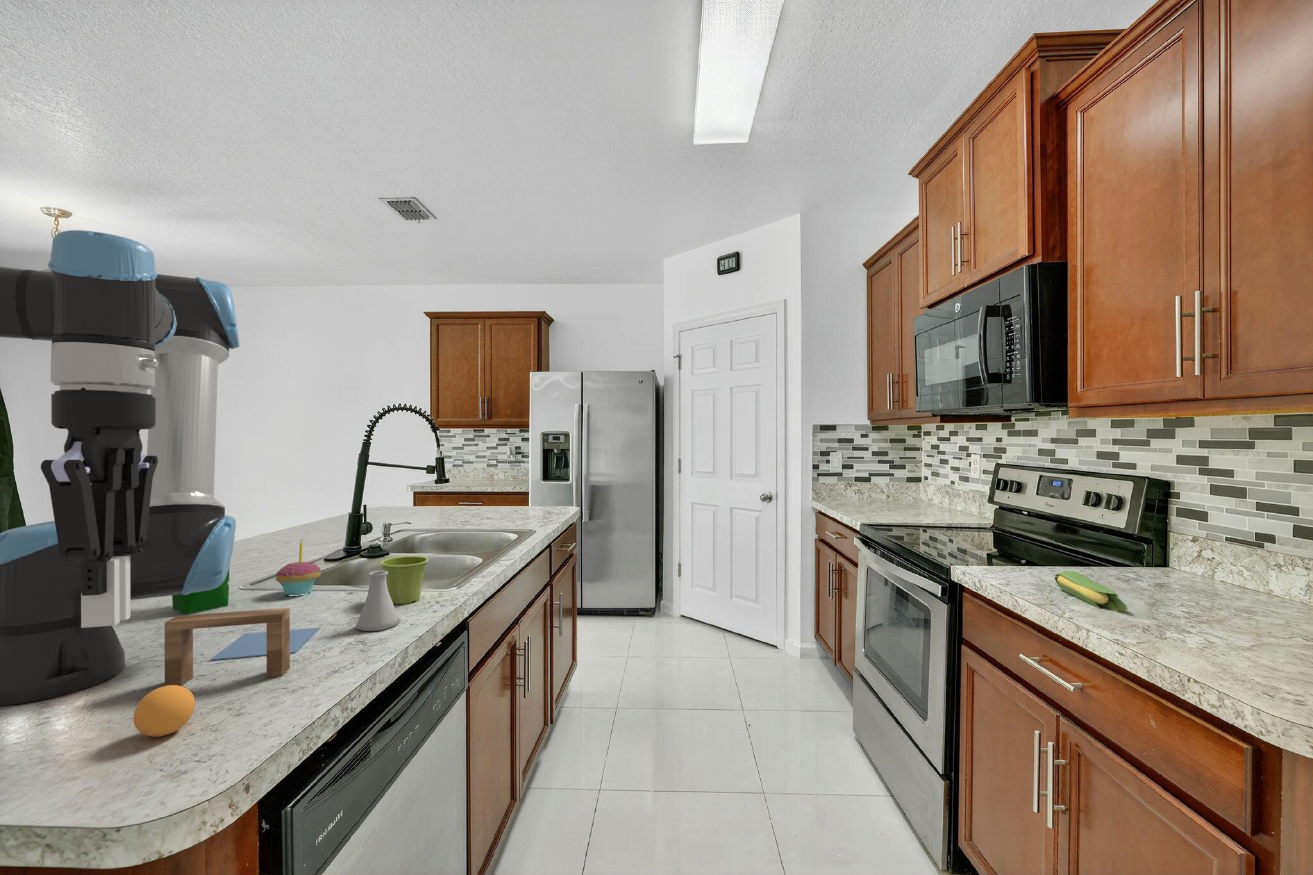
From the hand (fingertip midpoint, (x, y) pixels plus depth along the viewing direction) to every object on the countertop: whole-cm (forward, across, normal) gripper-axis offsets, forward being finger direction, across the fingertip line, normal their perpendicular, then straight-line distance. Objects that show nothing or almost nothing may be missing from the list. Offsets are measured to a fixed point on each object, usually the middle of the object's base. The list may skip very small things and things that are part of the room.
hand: (106, 622), depth 57 cm
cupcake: (+17, +73, +6) cm, 75 cm away
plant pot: (+17, +61, -18) cm, 66 cm away
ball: (+14, +10, 0) cm, 17 cm away
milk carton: (+17, +67, +22) cm, 72 cm away
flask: (+17, +45, -16) cm, 51 cm away
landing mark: (+16, +40, 0) cm, 43 cm away
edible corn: (+17, +22, -160) cm, 162 cm away
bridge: (+16, +26, 0) cm, 31 cm away
